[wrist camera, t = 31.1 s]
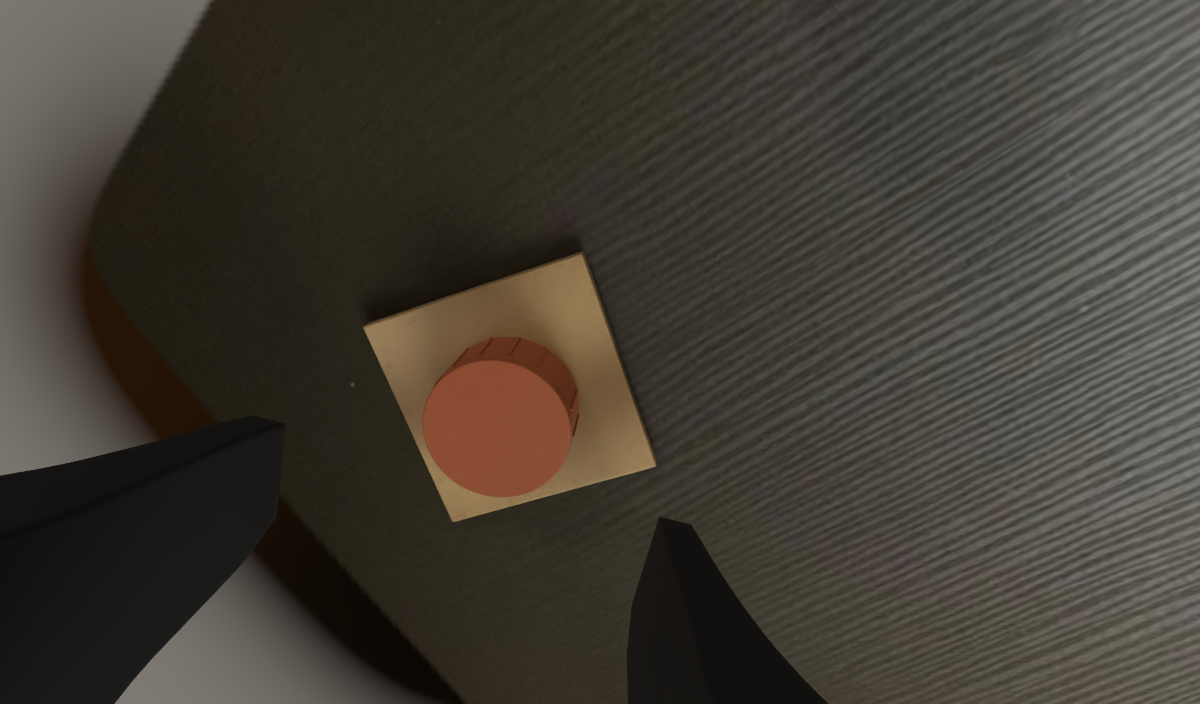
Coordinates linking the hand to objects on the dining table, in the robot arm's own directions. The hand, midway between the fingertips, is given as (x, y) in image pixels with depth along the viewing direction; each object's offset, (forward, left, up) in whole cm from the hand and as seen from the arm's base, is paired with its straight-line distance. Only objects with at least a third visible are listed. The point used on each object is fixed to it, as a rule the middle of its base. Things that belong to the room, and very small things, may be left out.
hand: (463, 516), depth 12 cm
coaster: (+1, -1, -10) cm, 10 cm away
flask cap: (+1, -1, -7) cm, 8 cm away
